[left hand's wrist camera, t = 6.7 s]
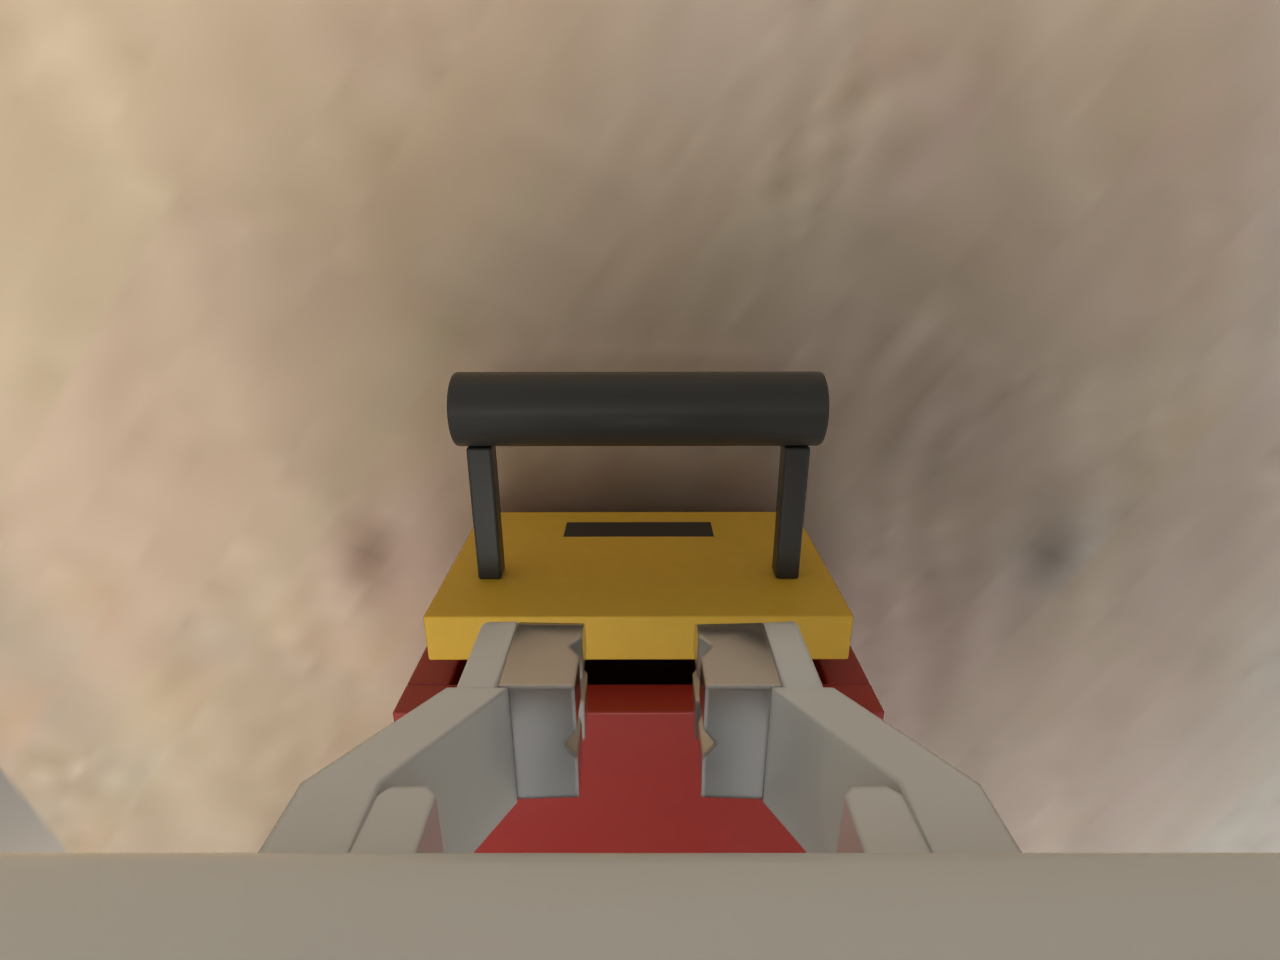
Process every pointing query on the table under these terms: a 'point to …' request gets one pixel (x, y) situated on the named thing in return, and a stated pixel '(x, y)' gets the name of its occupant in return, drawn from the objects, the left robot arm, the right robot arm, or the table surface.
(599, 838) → the red case
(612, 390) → the drawer
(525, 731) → the left robot arm
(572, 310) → the table surface
